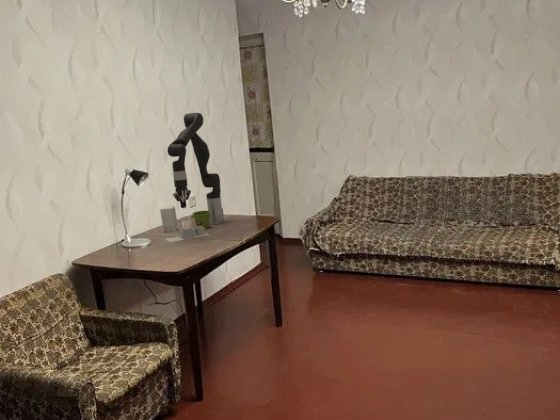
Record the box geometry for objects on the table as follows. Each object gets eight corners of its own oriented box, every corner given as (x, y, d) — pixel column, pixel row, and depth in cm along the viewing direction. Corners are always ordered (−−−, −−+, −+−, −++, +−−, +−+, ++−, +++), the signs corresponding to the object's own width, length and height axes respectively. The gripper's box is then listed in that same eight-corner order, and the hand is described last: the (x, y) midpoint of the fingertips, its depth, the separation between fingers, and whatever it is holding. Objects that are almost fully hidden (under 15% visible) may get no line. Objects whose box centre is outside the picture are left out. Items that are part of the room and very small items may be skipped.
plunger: (202, 232, 320) (201, 221, 318) (204, 233, 316) (203, 222, 315) (196, 233, 318) (195, 222, 317) (198, 235, 314) (196, 224, 313)
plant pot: (190, 232, 332) (188, 214, 330) (200, 227, 343) (198, 210, 341) (207, 232, 328) (205, 214, 326) (216, 227, 338) (214, 210, 336)
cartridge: (190, 235, 317) (187, 216, 314) (192, 236, 313) (190, 217, 310) (182, 236, 315) (180, 217, 313) (184, 238, 311) (182, 218, 308)
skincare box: (178, 229, 342) (175, 206, 339) (175, 232, 336) (172, 208, 333) (166, 230, 343) (163, 206, 340) (162, 232, 337) (159, 209, 334)
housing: (204, 234, 323) (203, 224, 322) (209, 237, 314) (208, 227, 313) (166, 241, 314) (164, 231, 313) (170, 244, 305) (168, 234, 304)
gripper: (176, 180, 299) (180, 210, 303) (192, 176, 310) (196, 205, 313) (167, 180, 304) (170, 209, 307) (183, 176, 314) (187, 205, 318)
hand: (183, 207), depth 310 cm, fingers closed
